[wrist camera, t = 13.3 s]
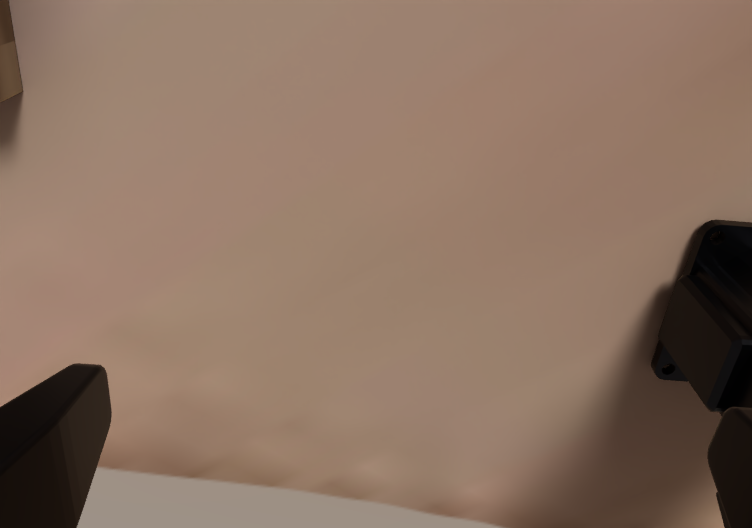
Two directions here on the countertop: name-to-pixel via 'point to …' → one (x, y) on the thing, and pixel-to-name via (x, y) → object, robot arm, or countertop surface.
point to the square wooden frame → (8, 56)
